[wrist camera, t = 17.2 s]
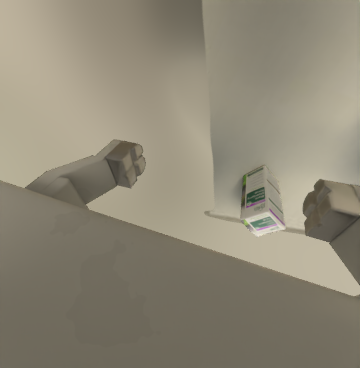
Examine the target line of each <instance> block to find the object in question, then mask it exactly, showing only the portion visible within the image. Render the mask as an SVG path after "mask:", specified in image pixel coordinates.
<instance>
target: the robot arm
mask: <svg viewBox="0 0 360 368" xmlns="http://www.w3.org/2000/svg"><path fill="white" fill-rule="evenodd" d="M142 153H143V148H142V146H141V145H140V144H136V143H131V142H126V141H121V140H113V141H111V142H110V143H109V144H108V145H107V146H106V147H104V148H103V149H102V150H101V151H100V152H99V153H98V154H97V155H95V156H93V155H92V156H89V157H86V158H84V159H81V160H78V161H75V162H72V163H69V164H67V165H63V166H61V167H58V168H55V169H52V170H49V171H46V172H45V173H43V174H42V175H41V176H40V177H38V178H37V179H36V180H34V181H33V182H32V183H30V184H29V185H28V186H27V187H25V188H22V187H18V186H16V185H12V184H9V183H6V182H3V181H0V368H360V295H357V296H351V295H347V294H344V293H341V292H338V291H335V290H332V289H329V288H326V287H323V286H320V285H317V284H314V283H311V282H308V281H305V280H302V279H299V278H295V277H293V276H290V275H286V274H283V273H280V272H277V271H274V270H271V269H268V268H265V267H262V266H259V265H256V264H253V263H250V262H247V261H244V260H241V259H238V258H235V257H232V256H229V255H226V254H223V253H220V252H216V251H213V250H210V249H207V248H204V247H201V246H198V245H195V244H192V243H189V242H186V241H183V240H180V239H177V238H174V237H171V236H168V235H165V234H162V233H158V232H155V231H152V230H149V229H146V228H143V227H140V226H137V225H134V224H131V223H128V222H125V221H122V220H119V219H115V218H113V217H110V216H107V215H104V214H100V213H98V212H94V211H91V210H89V209H88V207H87V206H86V204H87V203H89V202H91V201H92V200H94V199H96V198H98V197H99V196H101V195H103V194H104V193H106V192H108V191H109V190H111V189H113V188H115V187H116V186H117V185H119V186H123V187H128V188H131V187H132V186H133V185H134V184H135V182H136V181H137V176H139V175H141V174H142V173H143V171H144V169H145V165H146V162H145V158H144V157H143V155H142ZM314 190H315V191H312V192H310V193H308V195H307V196H306V198H305V200H304V203H303V214H304V215H305V216H306V217H307V219H306V220H305V222H304V225H305V233H306V236H309V237H313V238H316V239H320V240H323V241H326V242H330V243H329V244H330V245H331V246H332V248H333V249H334V251H335V252H336V253H337V255H338V256H339V257H340V259H341V260H342V262H343V263H344V264H345V266H346V267H347V268H348V270H349V271H350V272H351V274H352V275H353V277H354V278H355V280H356V281H357V282H358V284H359V285H360V186H357V185H351V184H350V185H349V184H344V183H338V182H333V181H328V180H322V179H320V180H318V181H317V182H316V184H315V185H314Z"/></svg>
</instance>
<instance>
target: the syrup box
mask: <svg viewBox="0 0 360 368" xmlns="http://www.w3.org/2000/svg"><path fill="white" fill-rule="evenodd" d="M240 220H241V222H242V223H243V224H244V225H245V226H246V227H247V228H248V229H249V230H250V231H251V232H252V233H254V234H255V235H256V236H257V237H258V236H261V235H264V234H269V233H273V232H277V231H281V230H285V229H286V226H285V220H284V214H283V207H282V201H281V195H280V189H279V182H278V180H277V179H276V178H275V176H274V175H273V174H272V173H271V172H270V171H269V169H268V168H267V167H266V166H265V165H264V166H262V167H260V168H258V169H256V170H254V171H252V172H250V173H248V174H246V175H244V176H243V190H242V203H241V217H240Z"/></svg>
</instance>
